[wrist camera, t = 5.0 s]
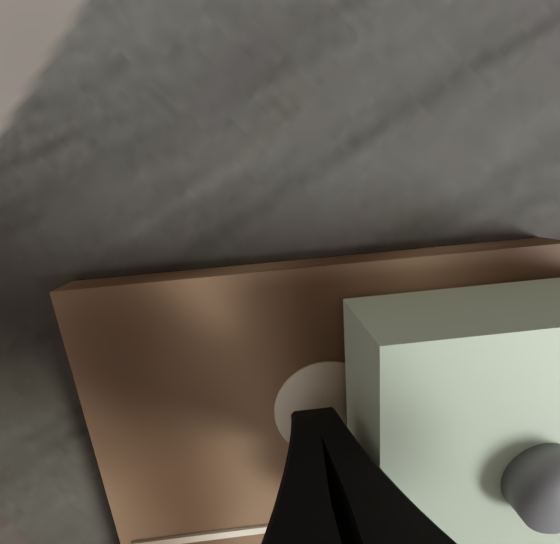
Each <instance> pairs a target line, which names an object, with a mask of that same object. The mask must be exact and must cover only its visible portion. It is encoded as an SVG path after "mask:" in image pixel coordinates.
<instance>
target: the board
mask: <svg viewBox="0 0 560 544" xmlns="http://www.w3.org/2000/svg"><path fill="white" fill-rule="evenodd" d="M559 277H560V240H554V239H548V238H542V237H536V238H525V239H515V240H504V241H493V242H483V243H472V244H461V245H451V246H440V247H429V248H419V249H408V250H397V251H387V252H376V253H365V254H354V255H344V256H333V257H322V258H312V259H301V260H290V261H280V262H269V263H258V264H248V265H237V266H226V267H216V268H205V269H194V270H184V271H173V272H162V273H151V274H141V275H130V276H119V277H109V278H98V279H87V280H77V281H72V282H70V283H67V284H65V285H63V286H61V287H59V288H57V289H55V290H52V291H50V292H49V293H50V297H51V300H52V304H53V308H54V311H55V315H56V318H57V322H58V325H59V329H60V332H61V336H62V339H63V343H64V346H65V350H66V353H67V357H68V360H69V364H70V368H71V371H72V375H73V378H74V382H75V385H76V389H77V392H78V396H79V399H80V403H81V406H82V410H83V413H84V417H85V420H86V424H87V428H88V431H89V435H90V438H91V442H92V445H93V449H94V452H95V456H96V459H97V463H98V466H99V470H100V473H101V477H102V480H103V484H104V488H105V491H106V495H107V498H108V502H109V505H110V509H111V512H112V516H113V519H114V523H115V526H116V530H117V533H118V537H119V540H120V544H261V543H262V540H263V537H264V534H265V532H266V529H267V526H268V523H269V520H270V517H271V514H272V511H273V508H274V504H275V501H276V497H277V494H278V490H279V487H280V483H281V480H282V476H283V472H284V467H285V462H286V458H287V453H288V448H289V441H290V434H291V414H292V413H293V412H294V411H300V410H309V409H318V408H327V407H332V408H334V409H335V410H336V412H337V413H338V415H339V416H340V418H341V419H342V421H343V422H344V423H345V425H346V426H347V404H346V374H345V344H344V314H343V299H347V298H357V297H367V296H377V295H387V294H397V293H408V292H418V291H428V290H438V289H448V288H458V287H468V286H478V285H489V284H499V283H509V282H519V281H529V280H539V279H549V278H559Z"/></svg>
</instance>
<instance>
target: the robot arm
mask: <svg viewBox="0 0 560 544" xmlns="http://www.w3.org/2000/svg"><path fill="white" fill-rule="evenodd" d="M261 544H457V543H456V542H455V541H454V540H452V539H451V538H450V537H449V536H448V535H447V534H446V533H445V532H443V531H442V530H441V529H440V528H439V527H438V526H437V525H436V524H435V523H434V522H433V521H432V520H430V519H429V518H428V517H427V516H426V515H425V514H424V513H423V512H422V511H421V510H420V509H419V508H418V507H417V506H416V505H415V504H414V503H413V502H412V501H411V500H410V499H409V498H408V497H407V496H406V495H405V494H404V493H403V492H402V491H401V490H400V489H399V488H398V487H397V486H396V485H395V484H394V482H393V481H392V480H391V479H390V478H389V477H388V476H387V475H386V474H385V473H384V472H383V470H382V469H381V468H380V467H379V466H378V465H377V464H376V462H375V461H374V460H373V459H372V458H371V456H370V455H369V454H368V453H367V452H366V451H365V449H364V448H363V447H362V446H361V444H360V443H359V442H358V441H357V439H356V438H355V437H354V435H353V434H352V433H351V432H350V430H349V429H348V428H347V426H346V425H345V423H344V422H343V421H342V419H341V418H340V416H339V415H338V413H337V412H336V410H335V409H334V408H332V407H327V408H318V409H309V410H300V411H294V412H293V413H292V414H291V434H290V441H289V448H288V453H287V458H286V462H285V467H284V472H283V476H282V480H281V483H280V487H279V490H278V494H277V497H276V501H275V504H274V508H273V511H272V514H271V517H270V520H269V523H268V526H267V529H266V532H265V534H264V537H263V540H262V543H261Z"/></svg>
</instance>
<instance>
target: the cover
mask: <svg viewBox="0 0 560 544" xmlns="http://www.w3.org/2000/svg"><path fill="white" fill-rule="evenodd" d="M343 314H344V344H345V374H346V404H347V428H348V429H349V430H350V432H351V433H352V434H353V435H354V437H355V438H356V439H357V441H358V442H359V443H360V444H361V446H362V447H363V448H364V449H365V451H366V452H367V453H368V454H369V455H370V456H371V458H372V459H373V460H374V461H375V462H376V464H377V465H378V466H379V467H380V468H381V469H382V470H383V472H384V473H385V474H386V475H387V476H388V477H389V478H390V479H391V480H392V481H393V482H394V484H395V485H396V486H397V487H398V488H399V489H400V490H401V491H402V492H403V493H404V494H405V495H406V496H407V497H408V498H409V499H410V500H411V501H412V502H413V503H414V504H415V505H416V506H417V507H418V508H419V509H420V510H421V511H422V512H423V513H424V514H425V515H426V516H427V517H428V518H429V519H430V520H432V521H433V522H434V523H435V524H436V525H437V526H438V527H439V528H440V529H441V530H442V531H443V532H445V533H446V534H447V535H448V536H449V537H450V538H451V539H452V540H454V541H455V542H456V543H457V544H560V277H559V278H549V279H539V280H529V281H519V282H509V283H499V284H489V285H478V286H468V287H458V288H448V289H438V290H428V291H418V292H408V293H397V294H387V295H377V296H367V297H357V298H347V299H343Z"/></svg>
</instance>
